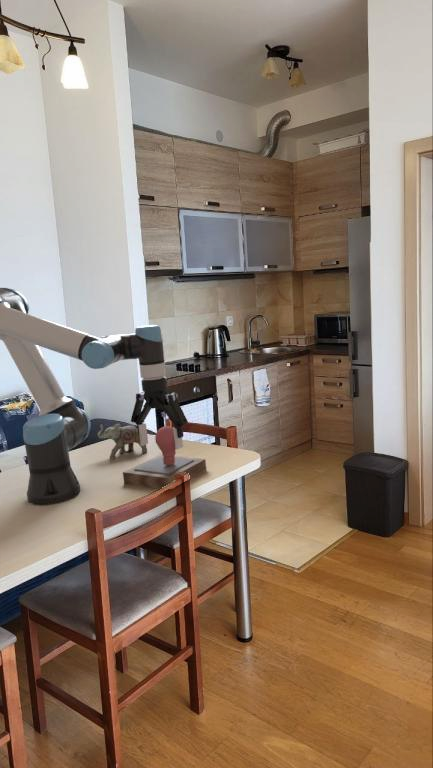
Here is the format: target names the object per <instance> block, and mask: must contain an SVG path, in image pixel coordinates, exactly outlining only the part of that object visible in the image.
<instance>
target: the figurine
mask: <svg viewBox="0 0 433 768" xmlns="http://www.w3.org/2000/svg"><path fill="white" fill-rule="evenodd" d="M99 427H100V430H99V431H98V432H97V437H98V438H99V439H110V440H112V441H114V443H115V445H114V447H113V448H112V449H111V453H110V455H109V460H114V459H116V454H117V452H118V451H119V452H118V453H119V454H126V453H130V452H132V451H134V450H135V447H134V443H135V444H138V446H139V447H140V448H141V453H143V454H144V453H147V452H148V447H147V444H146V445H143V446H141V443H140V435H139V434H138V429H137V428H136V426H134V425H126V426H122V425H121V423H116V424H114V425H113V426H109V427H107V428H106V429H105V430H104V426H103V424H102V423H101V424H100V425H99ZM125 446H127V447H128V449H127V450H126V447H125Z"/></svg>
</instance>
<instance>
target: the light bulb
mask: <svg viewBox="0 0 433 768" xmlns="http://www.w3.org/2000/svg"><path fill="white" fill-rule="evenodd" d="M173 428H174V427H172V426H169V425H166V426H162V427H160V428H159V429H158V430H157V432H156V433H155V437H154V438H155V439H154V441H155V443H156V446H157V447H158V449H159V450H160V451H161V453H162V454H161V455H163V456H164V457H163V463H164V464H165V465H172V464H174V463H175V456H176V453H177V451H176V450H177V449H175V440H174V431H173Z"/></svg>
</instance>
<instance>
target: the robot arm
mask: <svg viewBox="0 0 433 768" xmlns="http://www.w3.org/2000/svg"><path fill="white" fill-rule="evenodd" d="M29 311H30V307H29V302H28V300H27V298H26V297H25V296H24V295H23V294H22V293H21V292H20V291H18V290H17V289H14V288H9V287H0V341H2V342H3V343H4V345H5V347H6V349H7V352H8V353H9V354H10V357H11V358H12V360H13V362H14V364H15V366H16V367H17V370H18V372H19V373H20V374H21V377H22V379H23V380H24V382H25V385H26V386H27V388H28V390H29V392H30V393H31V395H32V398H33V399H34V401H35V402H36V405H37V407H38V408H39V414H38V416H35V417H32V418H30V419H28V420H27V421H26V422H25V423H24V424H23V426H22V434H23V435H22V438H23V443H24V447H25V452H26V453H25V454H26V459H27V464H28V465H27V466H28V471H29V479H28V485H27V486H28V487H27V491H26V499H27V503H29V504H31V505H35V506H49V505H54V504H58V503H62V502H66V501H69V500H71V499H74V498H75V497H77V496H78V495H79V494H80V493H81V487H80V482H79V480H78V478H77V476H76V474H75V472H74V471H73V469H72V466H71V458H70V453H69V451H71V450H72V449H74V448H75V447H77V446H79V445H80V444H82V443H83V442H84V441H85V440H86V438H87V437H88V436H89V434H90V432H91V431H90V430H91V420H90V417H89V414H88V413H87V412H86V411H85V410H84V409H82V408H79V407H78V406H77V405H76V404H75V401H74V399H73V398H69V397H67V396H66V395H65V394H64V391H63V389H62V387H61V386H60V384H59V382H58V380H57V378H56V376H55V375H54V373H53V371H52V369H51V368H50V364H49V363H48V362H47V359H46V358H45V356H44V354H43V352H42V350H41V348H44V349H48V350H49V351H52V352H53V351H54V352H56V353H59V354H61V355H64V356H68V357H70V358H73V359H76V360H78V361H82V362H83V363H84V364H85V365H86V367H88V368H90V369H93V370H99V369H104V368H107V367H108V366H111V365H113V364H115V363H117V362H120V361H126V360H138V363H139V364H138V365H139V373H140V378H141V390H142V391H141V392H138V393H136V394H135V403H134V406H133V410H132V414H131V418H130V422H131V423H134V424H135V425H136V427H137V428H136V429H138V434H139V435H140V443H141V446H143V445H146V446H147V445H148V444H149V439H148V431H147V430H148V429H147V423H146V422H145V420H146V418H147V417H148V415H149V413H150V411H151V410H152V409H157V410H160V411H163V412H164V414H165V415H166V417H168V419H169V420H170V422H171V423H172V424H173V426H174V427H172V428H173V431H174V440H175V449H176V450H180V449H181V448H182V449H183V447H184V443H183V437H184V429H183V428H184V426H186V425H187V424H188V423H189V422H188V419H187V417H186V415H185V413H184V410H183V409H182V407H181V404H180V403H179V401H178V397H177V393H176V392H174V393H171V394H168V393H167V391H168V380H167V371H166V363H165V354H164V353H165V351H164V342H163V341H164V340H163V336H162V331H161V327H160V326H159V325H157V324H151V325H150V324H148V325H140V326H137V327H135V329H134V330H135V332H134V333H130V334H129V333H128V334H109V335H105V336H104V335H103V336H100V337H97V336H95V335H91V334H88V333H86V332H83V331H79V330H77V329H73V328H71V327H69V326H68V327H67V326H65V325H62V324H58V323H56V322H53V321H50V320H48V319H44V318H41V317H40V316H39V317H38V316H36V315H33V314H30V313H29ZM40 347H41V348H40Z"/></svg>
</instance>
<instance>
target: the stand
mask: <svg viewBox="0 0 433 768" xmlns="http://www.w3.org/2000/svg"><path fill="white" fill-rule="evenodd" d="M163 457H164V456H163V455H162V454H158V455H155V456H154V457H152V458H150V459H148V460H146V461H144V462H141V463H139V464H137V465H135V466H132V467H131V468H129V469H126V470H124V471H123V472H122V478H123V483H124V484H126V485H132V486H137V487H138V486H139V487H146V488H152V489H160V488H162V487H164V486H166V485H168V484H170V483H172V482H173V481H174V480H175V474H176V473H179V472H186V473H189V475H190V480H192V479H193V477H194V478H195V477H198V476H199V475H200V474H202V473H204V472H206V471H207V463H206V459H205V458H197V457H189V456H179V455H175V463H174V464H172V465H165V464H164V463H163ZM191 478H192V479H191ZM160 490H161V489H160Z"/></svg>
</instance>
